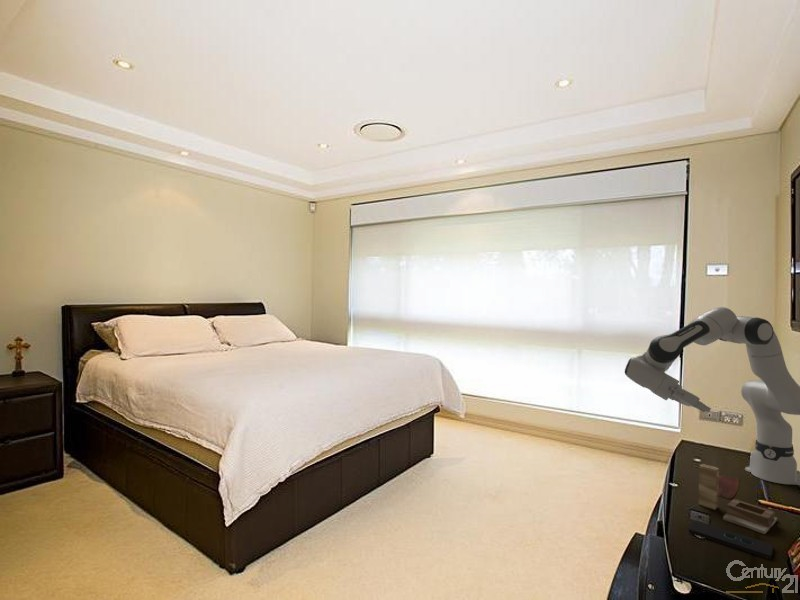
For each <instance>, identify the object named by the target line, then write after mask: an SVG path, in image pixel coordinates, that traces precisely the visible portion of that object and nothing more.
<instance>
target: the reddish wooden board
mask: <svg viewBox="0 0 800 600" xmlns="http://www.w3.org/2000/svg"><path fill="white" fill-rule="evenodd" d="M726 475H727V474H723V475H719V483H718V498H719V497H720V498H723V499H726V500H733V499H734V497H735V496H736V494H737V493H738V490H739V485H740V483H739V479H740V478H739V477H737V476H733V477H730V476H731V475H728V476H726ZM736 477H737V478H736ZM738 478H739V479H738Z"/></svg>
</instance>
